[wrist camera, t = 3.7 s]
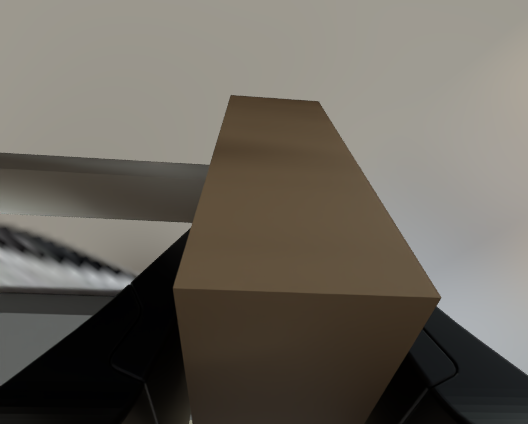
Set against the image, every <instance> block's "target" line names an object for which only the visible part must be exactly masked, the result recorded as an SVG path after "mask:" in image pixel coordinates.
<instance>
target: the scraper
mask: <svg viewBox="0 0 528 424" xmlns="http://www.w3.org/2000/svg"><path fill="white" fill-rule="evenodd" d="M0 214H20V215H41V216H63V217H83V218H85V217H86V218H104V219H126V220H148V221H168V222H188V223H192V226H191V229H190V233H189V236H188V239H187V243H186V246H185V249H184V253H183V256H182V259H181V263H180V266H179V269H178V273H177V276H176V279H175V283H174V286H173V293H174V299H175V306H176V313H177V320H178V327H179V334H180V340H181V347H182V354H183V361H184V368H185V375H186V381H187V388H188V395H189V402H190V409H191V416H192V423H193V424H364V423H365V422H366V420H367V418H368V417H369V415H370V413H371V412H372V410H373V408H374V407H375V405H376V404H377V402H378V400H379V399H380V397H381V395H382V394H383V392H384V391H385V389H386V387H387V386H388V384H389V382H390V381H391V379H392V378H393V376H394V374H395V373H396V371H397V369H398V368H399V366H400V364H401V363H402V361H403V360H404V358H405V356H406V355H407V353H408V351H409V350H410V348H411V347H412V345H413V343H414V342H415V340H416V338H417V337H418V335H419V334H420V332H421V330H422V329H423V327H424V325H425V324H426V322H427V320H428V319H429V317H430V316H431V314H432V312H433V311H434V309H435V307H436V306H437V304H438V303H439V301H440V299H441V296H440V295H439V293H438V292H437V290H436V288H435V287H434V285H433V284H432V282H431V280H430V279H429V277H428V276H427V274H426V272H425V271H424V269H423V268H422V266H421V264H420V263H419V261H418V260H417V258H416V256H415V255H414V253H413V252H412V250H411V248H410V247H409V245H408V244H407V242H406V240H405V239H404V237H403V236H402V234H401V232H400V231H399V229H398V228H397V226H396V224H395V223H394V221H393V220H392V218H391V217H390V215H389V213H388V212H387V210H386V209H385V207H384V205H383V204H382V202H381V200H380V199H379V197H378V196H377V194H376V192H375V191H374V189H373V188H372V186H371V185H370V183H369V181H368V180H367V178H366V177H365V175H364V173H363V172H362V170H361V168H360V167H359V165H358V164H357V162H356V161H355V159H354V157H353V156H352V154H351V153H350V151H349V150H348V148H347V146H346V145H345V143H344V141H343V140H342V138H341V137H340V135H339V133H338V132H337V130H336V129H335V127H334V126H333V124H332V122H331V121H330V119H329V117H328V116H327V114H326V113H325V111H324V109H323V108H322V106H321V105H320V103H319V102H318V101H305V100H291V99H277V98H263V97H248V96H235V95H231V96H230V100H229V103H228V106H227V110H226V113H225V117H224V120H223V123H222V126H221V130H220V133H219V136H218V140H217V143H216V146H215V150H214V153H213V156H212V160H211V163H210V165H201V164H183V163H167V162H149V161H132V160H115V159H98V158H81V157H64V156H47V155H28V154H11V153H0Z"/></svg>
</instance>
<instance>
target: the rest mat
mask: <svg viewBox="0 0 528 424" xmlns="http://www.w3.org/2000/svg"><path fill="white" fill-rule="evenodd" d="M113 298H114V297H108V296H77V295H47V294H16V293H0V386H1V385H2V384H3V383H5V382H6V381H8V380H9V379H10V378H12V377H13V376H14V375H16V374H17V373H18V372H20V371H21V370H22V369H24V368H25V367H26V366H28V365H29V364H30V363H32V362H33V361H34V360H35V359H37V358H38V357H39V356H41V355H42V354H43V353H45V352H46V351H47V350H49V349H50V348H51V347H53V346H54V345H55V344H57V343H58V342H59V341H61V340H62V339H63V338H65V337H66V336H67V335H68V334H70V333H71V332H72V331H74V330H75V329H76V328H78V327H79V326H80V325H81V324H83V323H84V322H85V321H86V320H88V319H89V318H90V317H92V316H93V315H94V314H95V313H97V312H98V311H99V310H100V309H101V308H102V307H104V306H105V305H106V304H107V303H108V302H109V301H111V300H112V299H113ZM190 420H192V416H191V417H190Z"/></svg>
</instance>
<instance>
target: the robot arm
mask: <svg viewBox="0 0 528 424" xmlns="http://www.w3.org/2000/svg"><path fill="white" fill-rule="evenodd" d="M190 229H191V228H190ZM190 229H189V230H188V231H187V232H186V233H185V234H183V235H182V236H181V237H180V238H179V239H178V240H177V241H176V242H175V243H174V244H173V245H171V246H170V247H169V248H168V249H167V250H166V251H165V252H164V253H163V254H162V255H160V256H159V257H158V258H157V259H156V260H155V261H154V262H153V263H152V264H151V265H149V266H148V267H147V268H146V269H145V270H144V271H143V272H142V273H141V274H140V275H138V276H137V277H136V278H135V279H134V280H133V281H132V282H131V285H127V286H126V287H125V288H124V289H123V290H122V291H121V292H120V293H119V294H117V295H116V296H115V297H114V298H113V299H112V300H111V301H109V302H108V303H107V304H106V305H105V306H104V307H102V308H101V309H100V310H99V311H98V312H97V313H95V314H94V315H93V316H92V317H90V318H89V319H88V320H86V321H85V322H84V323H83V324H81V325H80V326H79V327H78V328H76V329H75V330H74V331H72V332H71V333H70V334H68V335H67V336H66V337H65V338H63V339H62V340H61V341H59V342H58V343H57V344H55V345H54V346H53V347H51V348H50V349H49V350H47V351H46V352H45V353H43V354H42V355H41V356H39V357H38V358H37V359H35V360H34V361H33V362H32V363H30V364H29V365H28V366H26V367H25V368H24V369H22V370H21V371H20V372H18V373H17V374H16V375H14V376H13V377H12V378H10V379H9V380H8V381H6V382H5V383H3V384H2V385H1V386H0V424H189V421H190V417H191V409H190V402H189V395H188V388H187V381H186V375H185V368H184V361H183V354H182V347H181V340H180V334H179V327H178V320H177V313H176V306H175V299H174V293H173V286H174V283H175V279H176V276H177V273H178V269H179V266H180V263H181V259H182V256H183V253H184V249H185V246H186V243H187V239H188V236H189V233H190ZM364 424H528V375H527V374H525V373H524V372H522V371H521V370H520V369H518V368H517V367H516V366H514V365H513V364H511V363H510V362H509V361H508V360H506V359H505V358H503V357H502V356H500V355H499V354H498V353H497V352H495V351H494V350H492V349H491V348H490V347H488V346H487V345H486V344H484V343H483V342H482V341H480V340H479V339H477V338H476V337H475V336H474V335H472V334H471V333H470V332H468V331H467V330H466V329H464V328H463V327H462V326H460V325H459V324H458V323H456V322H455V321H454V320H452V319H451V318H450V317H449V316H448V315H446V314H445V313H444V312H443V311H442V310H440V309H439V308H438V307H437V306H436V307H435V309H434V311H433V312H432V314H431V316H430V317H429V319H428V320H427V322H426V324H425V325H424V327H423V329H422V330H421V332H420V334H419V335H418V337H417V338H416V340H415V342H414V343H413V345H412V347H411V348H410V350H409V351H408V353H407V355H406V356H405V358H404V360H403V361H402V363H401V364H400V366H399V368H398V369H397V371H396V373H395V374H394V376H393V378H392V379H391V381H390V382H389V384H388V386H387V387H386V389H385V391H384V392H383V394H382V395H381V397H380V399H379V400H378V402H377V404H376V405H375V407H374V408H373V410H372V412H371V413H370V415H369V417H368V418H367V420H366V422H365V423H364Z"/></svg>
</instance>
